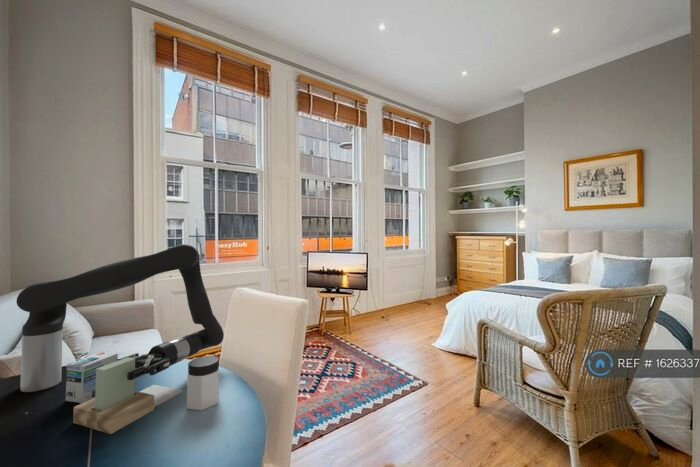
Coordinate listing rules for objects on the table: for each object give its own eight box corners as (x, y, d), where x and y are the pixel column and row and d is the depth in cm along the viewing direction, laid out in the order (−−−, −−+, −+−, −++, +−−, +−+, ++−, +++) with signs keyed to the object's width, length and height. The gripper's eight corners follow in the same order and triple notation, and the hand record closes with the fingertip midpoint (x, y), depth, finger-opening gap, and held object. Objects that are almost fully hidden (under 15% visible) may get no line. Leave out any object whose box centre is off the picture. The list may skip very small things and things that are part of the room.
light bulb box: (82, 404, 86) (83, 366, 87) (64, 401, 88) (65, 364, 88) (118, 386, 97) (119, 352, 97) (101, 384, 98) (102, 351, 99)
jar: (217, 408, 85) (218, 365, 85) (185, 413, 82) (185, 369, 82) (219, 392, 93) (220, 353, 94) (190, 397, 90) (190, 357, 91)
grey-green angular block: (94, 423, 77) (96, 368, 78) (126, 407, 85) (127, 357, 85) (102, 425, 76) (104, 370, 77) (134, 409, 84) (135, 358, 84)
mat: (122, 400, 88) (122, 399, 88) (154, 385, 98) (154, 384, 98) (152, 408, 84) (152, 407, 84) (182, 391, 94) (182, 390, 94)
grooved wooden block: (73, 422, 78) (73, 407, 78) (118, 400, 88) (119, 387, 88) (111, 434, 73) (111, 417, 73) (154, 409, 84) (154, 395, 84)
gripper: (153, 338, 99) (99, 356, 83) (187, 343, 94) (136, 363, 79) (153, 361, 99) (98, 384, 83) (187, 368, 94) (135, 392, 79)
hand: (116, 374), depth 81 cm, fingers open, 8 cm apart
